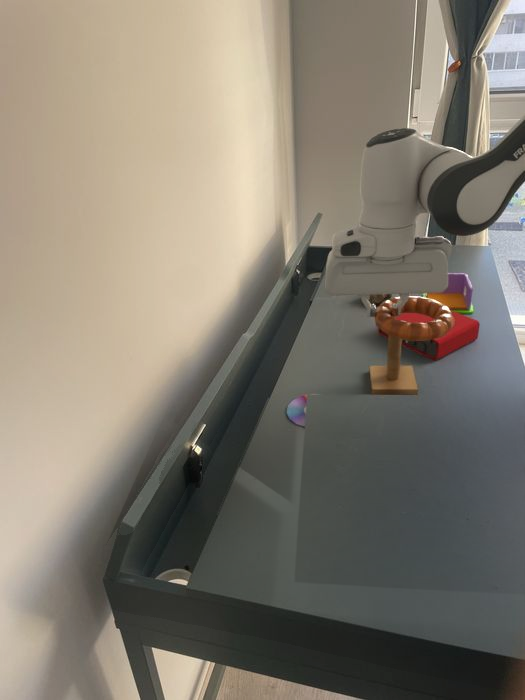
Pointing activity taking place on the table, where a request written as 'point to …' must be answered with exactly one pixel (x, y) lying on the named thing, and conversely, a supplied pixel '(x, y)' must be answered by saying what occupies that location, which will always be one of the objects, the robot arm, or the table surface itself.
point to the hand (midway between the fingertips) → (383, 315)
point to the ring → (415, 330)
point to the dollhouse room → (455, 294)
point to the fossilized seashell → (379, 298)
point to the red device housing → (440, 347)
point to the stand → (393, 374)
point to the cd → (298, 410)
